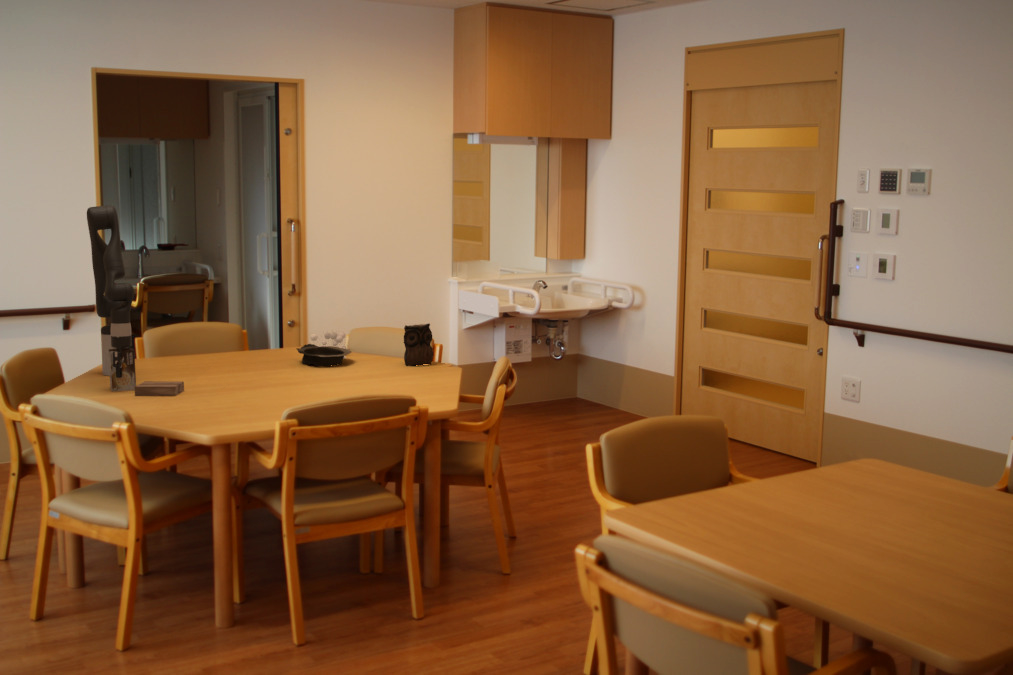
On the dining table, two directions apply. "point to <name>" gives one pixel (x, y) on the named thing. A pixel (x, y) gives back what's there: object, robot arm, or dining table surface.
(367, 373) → the dining table surface
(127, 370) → the coffee box
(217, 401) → the dining table surface
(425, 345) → the owl
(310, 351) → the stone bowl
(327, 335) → the decorative flower
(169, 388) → the walnut base block
